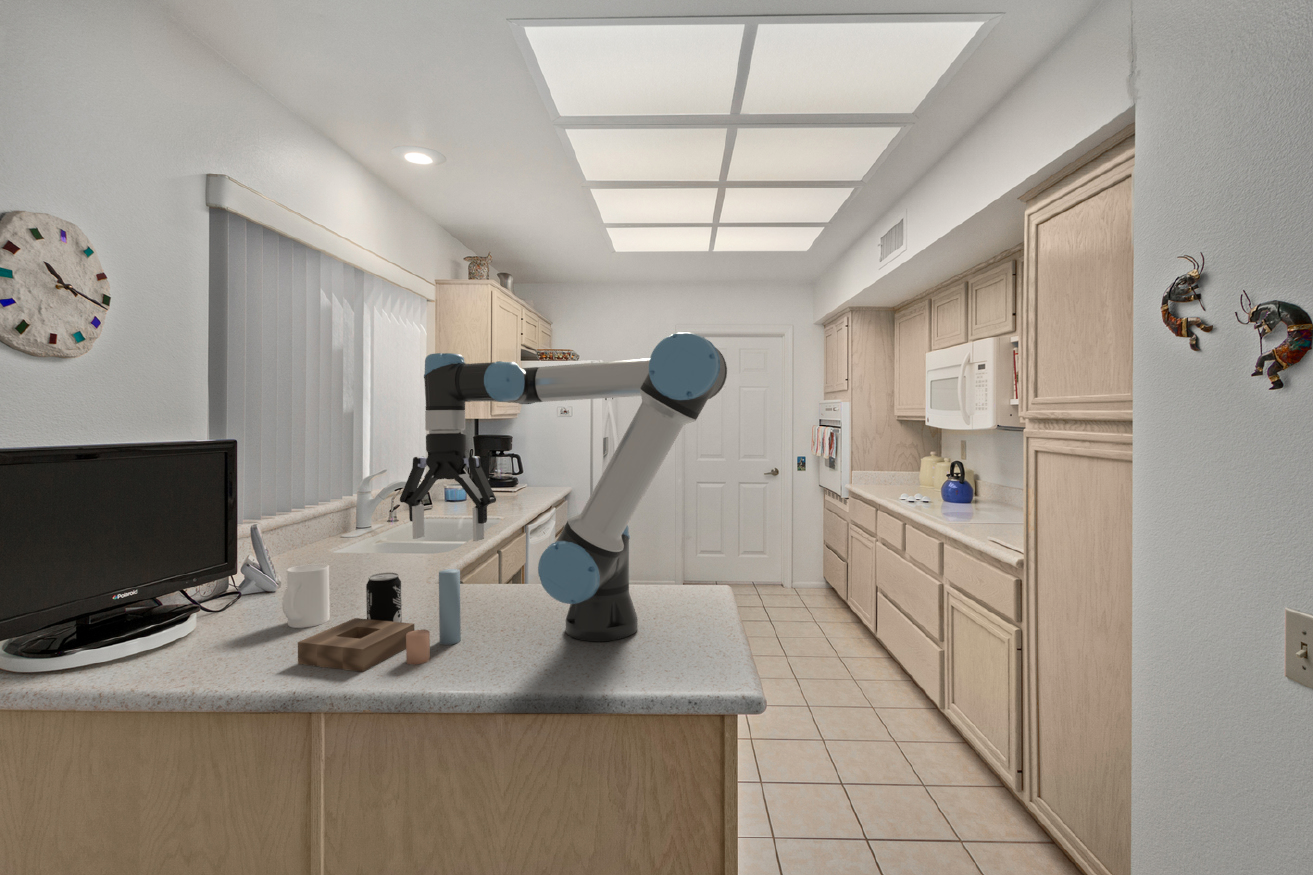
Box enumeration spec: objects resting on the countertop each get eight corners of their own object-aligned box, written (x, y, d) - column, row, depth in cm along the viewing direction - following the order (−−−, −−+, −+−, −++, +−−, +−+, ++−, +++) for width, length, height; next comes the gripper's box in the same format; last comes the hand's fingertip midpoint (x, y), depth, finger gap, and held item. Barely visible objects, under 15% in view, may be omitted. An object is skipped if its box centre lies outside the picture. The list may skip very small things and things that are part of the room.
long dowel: (464, 638, 122) (463, 569, 121) (453, 645, 118) (452, 574, 118) (447, 636, 123) (446, 568, 122) (435, 643, 119) (434, 573, 119)
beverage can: (388, 639, 121) (387, 580, 121) (359, 637, 122) (358, 579, 122) (408, 629, 128) (407, 572, 127) (380, 627, 129) (379, 571, 129)
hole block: (414, 643, 119) (414, 623, 119) (363, 671, 105) (362, 649, 105) (355, 637, 123) (354, 618, 122) (297, 664, 109) (297, 642, 109)
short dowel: (434, 657, 112) (434, 630, 112) (420, 665, 108) (420, 637, 108) (415, 655, 113) (415, 628, 113) (401, 663, 109) (401, 636, 109)
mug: (265, 634, 125) (264, 576, 124) (301, 615, 137) (300, 563, 136) (304, 634, 124) (303, 576, 124) (337, 616, 136) (336, 563, 136)
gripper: (512, 431, 120) (514, 537, 120) (404, 432, 126) (406, 533, 127) (492, 431, 113) (494, 544, 113) (379, 433, 119) (381, 540, 119)
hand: (448, 539), depth 120 cm, fingers open, 13 cm apart
